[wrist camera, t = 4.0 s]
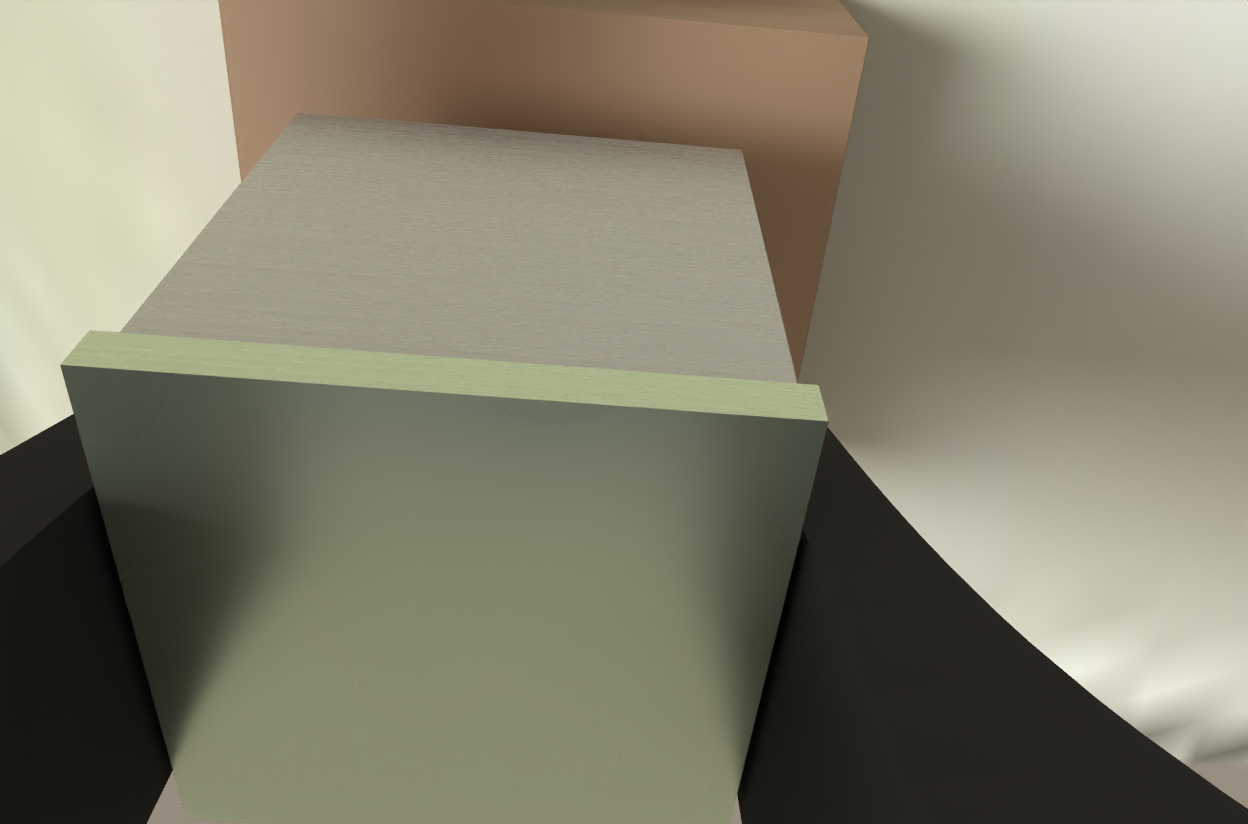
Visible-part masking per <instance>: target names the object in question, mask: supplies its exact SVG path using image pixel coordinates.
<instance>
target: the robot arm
mask: <svg viewBox="0 0 1248 824" xmlns="http://www.w3.org/2000/svg"><path fill="white" fill-rule="evenodd" d="M172 771H173V769H172V765H171V761H170V758H169V754H168V751H167V747H166V743H165V740H164V736H163V733H162V729H161V725H160V722H159V718H158V715H157V711H156V707H155V704H154V700H153V697H152V693H151V689H150V686H149V682H148V679H147V675H146V671H145V668H144V664H143V661H142V657H141V653H140V650H139V646H138V643H137V639H136V635H135V632H134V628H133V625H132V621H131V617H130V614H129V610H128V607H127V603H126V599H125V596H124V592H123V589H122V585H121V581H120V578H119V574H118V571H117V567H116V563H115V560H114V556H113V553H112V549H111V546H110V542H109V538H108V535H107V531H106V528H105V524H104V520H103V517H102V513H101V510H100V506H99V502H98V499H97V495H96V492H95V488H94V484H93V481H92V477H91V474H90V470H89V466H88V463H87V459H86V456H85V452H84V448H83V445H82V441H81V438H80V434H79V430H78V427H77V423H76V420H75V416H74V414H73V415H71V416H69V417H67V418H65V419H64V420H62V421H60V422H58V423H57V424H55V425H53V426H51V427H50V428H48V429H46V430H44V431H42V432H41V433H39V434H37V435H35V436H34V437H32V438H30V439H28V440H27V441H25V442H23V443H21V444H19V445H18V446H16V447H14V448H12V449H11V450H9V451H7V452H5V453H3V454H2V455H0V824H147V822H148V819H149V818H150V815H151V813H152V811H153V809H154V807H155V805H156V803H157V801H158V799H159V797H160V795H161V793H162V791H163V789H164V787H165V785H166V783H167V781H168V779H169V777H170V775H171V772H172ZM737 795H738V801H739V807H740V814H741V821H742V824H1248V809H1247V808H1246V807H1244V806H1243V805H1241V804H1240V803H1238V802H1237V801H1235V800H1234V799H1232V798H1231V797H1229V796H1228V795H1227V794H1225V793H1224V792H1222V791H1221V790H1219V789H1218V788H1217V787H1215V786H1214V785H1212V784H1211V783H1210V782H1208V781H1207V780H1206V779H1204V778H1203V777H1201V776H1200V775H1199V774H1197V773H1196V772H1194V771H1193V770H1192V769H1190V768H1189V767H1188V766H1186V765H1185V764H1183V763H1182V762H1181V761H1179V760H1178V759H1176V758H1175V757H1174V756H1172V755H1171V754H1170V753H1168V752H1167V751H1165V750H1164V749H1163V748H1161V747H1160V746H1159V745H1157V744H1156V743H1154V742H1153V741H1152V740H1150V739H1149V738H1147V737H1146V736H1145V735H1143V734H1142V733H1141V732H1139V731H1138V730H1137V729H1135V728H1134V727H1133V726H1131V725H1130V724H1129V723H1128V722H1126V721H1125V720H1124V719H1122V718H1121V717H1120V716H1119V715H1117V714H1116V713H1115V712H1113V711H1112V710H1111V709H1109V708H1108V707H1107V706H1106V705H1104V704H1103V703H1102V702H1101V701H1099V700H1098V699H1097V698H1095V697H1094V696H1093V695H1092V694H1091V693H1089V692H1088V691H1087V690H1086V689H1085V688H1084V687H1082V686H1081V685H1080V684H1079V683H1078V682H1076V681H1075V680H1074V679H1073V678H1072V677H1070V676H1069V675H1068V674H1067V673H1066V672H1064V671H1063V670H1062V669H1061V668H1060V667H1059V666H1057V665H1056V664H1055V663H1054V662H1053V661H1051V660H1050V659H1049V658H1048V657H1047V656H1045V655H1044V654H1043V653H1042V652H1041V651H1039V650H1038V649H1037V648H1036V647H1035V646H1034V645H1032V644H1031V643H1030V642H1029V641H1028V640H1027V639H1026V638H1024V637H1023V636H1022V635H1021V634H1020V633H1019V632H1018V631H1017V630H1016V629H1014V628H1013V627H1012V626H1011V625H1010V624H1009V623H1008V622H1007V621H1006V620H1004V619H1003V618H1002V617H1001V616H1000V615H999V614H998V613H997V612H996V611H995V610H994V609H993V608H992V607H991V606H990V605H989V604H988V603H987V602H986V601H985V600H984V599H983V598H982V597H981V596H980V595H979V594H978V593H977V592H975V591H974V590H973V589H972V588H971V587H970V586H969V585H968V584H967V583H966V582H965V581H964V580H963V579H962V578H961V577H960V576H959V575H958V574H957V573H956V572H955V571H954V570H953V569H952V568H951V567H950V566H949V565H948V564H947V563H946V562H945V561H944V560H943V559H942V558H941V557H940V556H939V555H938V553H937V552H936V551H935V550H934V549H933V548H932V547H931V546H930V545H929V544H928V543H927V542H926V541H925V540H924V539H923V538H922V537H921V536H920V534H919V533H918V532H917V531H916V530H915V529H914V528H913V527H912V526H911V525H910V524H909V522H908V521H907V520H906V519H905V518H904V517H903V516H902V515H901V514H900V512H899V511H898V510H897V509H896V508H895V507H894V506H893V505H892V503H891V502H890V501H889V500H888V499H887V498H886V497H885V495H884V494H883V493H882V492H881V491H880V490H879V488H878V487H877V486H876V485H875V484H874V483H873V482H872V480H871V479H870V478H869V477H868V476H867V474H866V473H865V472H864V471H863V470H862V468H861V467H860V466H859V465H858V464H857V462H856V461H855V460H854V459H853V458H852V456H851V455H850V454H849V453H848V452H847V450H846V449H845V448H844V447H843V445H842V444H841V443H840V442H839V441H838V439H837V438H836V437H835V436H834V434H833V433H832V432H831V431H830V430H829V428H828V427H827V430H826V434H825V438H824V442H823V446H822V450H821V454H820V458H819V462H818V466H817V470H816V474H815V479H814V483H813V487H812V491H811V495H810V499H809V503H808V507H807V511H806V515H805V519H804V523H803V527H802V531H801V535H800V540H799V544H798V548H797V552H796V556H795V560H794V564H793V568H792V572H791V576H790V580H789V584H788V588H787V592H786V597H785V601H784V605H783V609H782V613H781V617H780V621H779V625H778V629H777V633H776V637H775V641H774V645H773V649H772V653H771V658H770V662H769V666H768V670H767V674H766V678H765V682H764V686H763V690H762V694H761V698H760V702H759V706H758V710H757V715H756V719H755V723H754V727H753V731H752V735H751V739H750V743H749V747H748V751H747V755H746V759H745V763H744V767H743V771H742V776H741V780H740V784H739V788H738V792H737Z"/></svg>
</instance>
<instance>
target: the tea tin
mask: <svg viewBox="0 0 1248 824" xmlns="http://www.w3.org/2000/svg"><path fill="white" fill-rule="evenodd" d="M60 366H61V369H62V373H63V376H64V380H65V384H66V387H67V391H68V394H69V398H70V402H71V405H72V409H73V412H74V416H75V420H76V423H77V427H78V430H79V434H80V438H81V441H82V445H83V448H84V452H85V456H86V459H87V463H88V466H89V470H90V474H91V477H92V481H93V484H94V488H95V492H96V495H97V499H98V502H99V506H100V510H101V513H102V517H103V520H104V524H105V528H106V531H107V535H108V538H109V542H110V546H111V549H112V553H113V556H114V560H115V563H116V567H117V571H118V574H119V578H120V581H121V585H122V589H123V592H124V596H125V599H126V603H127V607H128V610H129V614H130V617H131V621H132V625H133V628H134V632H135V635H136V639H137V643H138V646H139V650H140V653H141V657H142V661H143V664H144V668H145V671H146V675H147V679H148V682H149V686H150V689H151V693H152V697H153V700H154V704H155V707H156V711H157V715H158V718H159V722H160V725H161V729H162V733H163V736H164V740H165V743H166V747H167V751H168V754H169V758H170V761H171V765H172V769H173V772H174V776H175V779H176V783H177V786H178V790H179V793H180V797H181V801H182V805H183V808H184V812H185V815H186V819H187V820H199V821H200V820H201V821H216V822H235V823H254V824H730V820H731V816H732V812H733V808H734V804H735V800H736V795H737V792H738V788H739V784H740V780H741V776H742V771H743V767H744V763H745V759H746V755H747V751H748V747H749V743H750V739H751V735H752V731H753V727H754V723H755V719H756V715H757V710H758V706H759V702H760V698H761V694H762V690H763V686H764V682H765V678H766V674H767V670H768V666H769V662H770V658H771V653H772V649H773V645H774V641H775V637H776V633H777V629H778V625H779V621H780V617H781V613H782V609H783V605H784V601H785V597H786V592H787V588H788V584H789V580H790V576H791V572H792V568H793V564H794V560H795V556H796V552H797V548H798V544H799V540H800V535H801V531H802V527H803V523H804V519H805V515H806V511H807V507H808V503H809V499H810V495H811V491H812V487H813V483H814V479H815V474H816V470H817V466H818V462H819V458H820V454H821V450H822V446H823V442H824V438H825V434H826V430H827V426H828V422H829V421H828V417H827V414H826V410H825V406H824V403H823V399H822V395H821V391H820V388H819V385H811V384H798V383H797V380H796V375H795V371H794V367H793V363H792V359H791V355H790V350H789V346H788V342H787V338H786V334H785V329H784V325H783V321H782V317H781V313H780V308H779V304H778V300H777V296H776V292H775V287H774V283H773V279H772V275H771V271H770V266H769V262H768V258H767V254H766V250H765V245H764V241H763V237H762V233H761V229H760V224H759V220H758V216H757V212H756V208H755V203H754V199H753V195H752V191H751V187H750V182H749V178H748V174H747V170H746V166H745V162H744V157H743V153H742V150H738V149H726V148H715V147H703V146H691V145H679V144H667V143H655V142H644V141H632V140H620V139H608V138H596V137H585V136H573V135H561V134H549V133H537V132H525V131H514V130H502V129H490V128H478V127H466V126H455V125H443V124H431V123H419V122H407V121H395V120H384V119H372V118H360V117H348V116H336V115H325V114H313V113H301V112H298V113H297V114H296V116H295V117H294V118H293V119H292V121H291V122H290V123H289V124H288V126H287V127H286V128H285V129H284V130H283V132H282V133H281V134H280V135H279V137H278V138H277V139H276V140H275V142H274V143H273V144H272V145H271V147H270V148H269V149H268V150H267V151H266V153H265V154H264V155H263V156H262V158H261V159H260V160H259V161H258V163H257V164H256V165H255V166H254V167H253V169H252V170H251V171H250V172H249V174H248V175H247V176H246V177H245V179H244V180H243V181H242V182H241V184H240V185H239V186H238V187H237V188H236V190H235V191H234V192H233V193H232V195H231V196H230V197H229V198H228V200H227V201H226V202H225V203H224V205H223V206H222V207H221V208H220V209H219V211H218V212H217V213H216V214H215V216H214V217H213V218H212V219H211V221H210V222H209V223H208V224H207V225H206V227H205V228H204V229H203V230H202V232H201V233H200V234H199V235H198V237H197V238H196V239H195V240H194V242H193V243H192V244H191V245H190V246H189V248H188V249H187V250H186V251H185V253H184V254H183V255H182V256H181V258H180V259H179V260H178V261H177V262H176V264H175V265H174V266H173V267H172V269H171V270H170V271H169V272H168V274H167V275H166V276H165V277H164V279H163V280H162V281H161V282H160V283H159V285H158V286H157V287H156V288H155V290H154V291H153V292H152V293H151V295H150V296H149V297H148V298H147V300H146V301H145V302H144V303H143V304H142V306H141V307H140V308H139V309H138V311H137V312H136V313H135V314H134V316H133V317H132V318H131V319H130V320H129V322H128V323H127V324H126V325H125V327H124V328H123V329H122V330H121V332H120V333H119V332H106V331H93V330H90V331H89V332H88V333H87V334H86V335H85V337H84V338H83V339H82V340H81V341H80V342H79V344H78V345H77V346H76V347H75V348H74V349H73V350H72V352H71V353H70V354H69V355H68V356H67V357H66V359H65V360H64V361H63V362H62V363H61V364H60Z"/></svg>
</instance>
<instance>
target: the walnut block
mask: <svg viewBox="0 0 1248 824" xmlns="http://www.w3.org/2000/svg"><path fill="white" fill-rule="evenodd" d="M218 1H219V9H220V17H221V25H222V33H223V41H224V49H225V57H226V65H227V72H228V80H229V88H230V96H231V104H232V112H233V120H234V128H235V136H236V144H237V152H238V160H239V168H240V176H241V182H242V181H243V180H244V179H245V177H246V176H247V175H248V174H249V172H250V171H251V170H252V169H253V167H254V166H255V165H256V164H257V163H258V161H259V160H260V159H261V158H262V156H263V155H264V154H265V153H266V151H267V150H268V149H269V148H270V147H271V145H272V144H273V143H274V142H275V140H276V139H277V138H278V137H279V135H280V134H281V133H282V132H283V130H284V129H285V128H286V127H287V126H288V124H289V123H290V122H291V121H292V119H293V118H294V117H295V116H296V114H297V113H298V112H301V113H313V114H325V115H336V116H348V117H360V118H372V119H384V120H395V121H407V122H419V123H431V124H443V125H455V126H466V127H478V128H490V129H502V130H514V131H525V132H537V133H549V134H561V135H573V136H585V137H596V138H608V139H620V140H632V141H644V142H655V143H667V144H679V145H691V146H703V147H715V148H726V149H738V150H742V153H743V157H744V162H745V166H746V170H747V174H748V178H749V182H750V187H751V191H752V195H753V199H754V203H755V208H756V212H757V216H758V220H759V224H760V229H761V233H762V237H763V241H764V245H765V250H766V254H767V258H768V262H769V266H770V271H771V275H772V279H773V283H774V287H775V292H776V296H777V300H778V304H779V308H780V313H781V317H782V321H783V325H784V329H785V334H786V338H787V342H788V346H789V350H790V355H791V359H792V363H793V367H794V371H795V375H796V380H797V382H798V377H799V373H800V368H801V363H802V358H803V353H804V348H805V344H806V339H807V334H808V329H809V324H810V320H811V315H812V310H813V305H814V300H815V295H816V291H817V286H818V281H819V276H820V271H821V267H822V262H823V257H824V252H825V247H826V242H827V238H828V233H829V228H830V223H831V218H832V214H833V209H834V204H835V199H836V194H837V189H838V185H839V180H840V175H841V170H842V165H843V161H844V156H845V151H846V146H847V141H848V136H849V132H850V127H851V122H852V117H853V112H854V108H855V103H856V98H857V93H858V88H859V83H860V79H861V74H862V69H863V64H864V59H865V55H866V50H867V45H868V40H869V37H868V35H867V34H866V33H865V32H864V30H863V29H862V28H861V27H860V25H859V24H858V23H857V22H856V20H855V19H854V18H853V16H852V15H851V14H850V13H849V11H848V10H847V9H846V8H845V6H844V5H843V4H842V3H841V1H840V0H218Z"/></svg>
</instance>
